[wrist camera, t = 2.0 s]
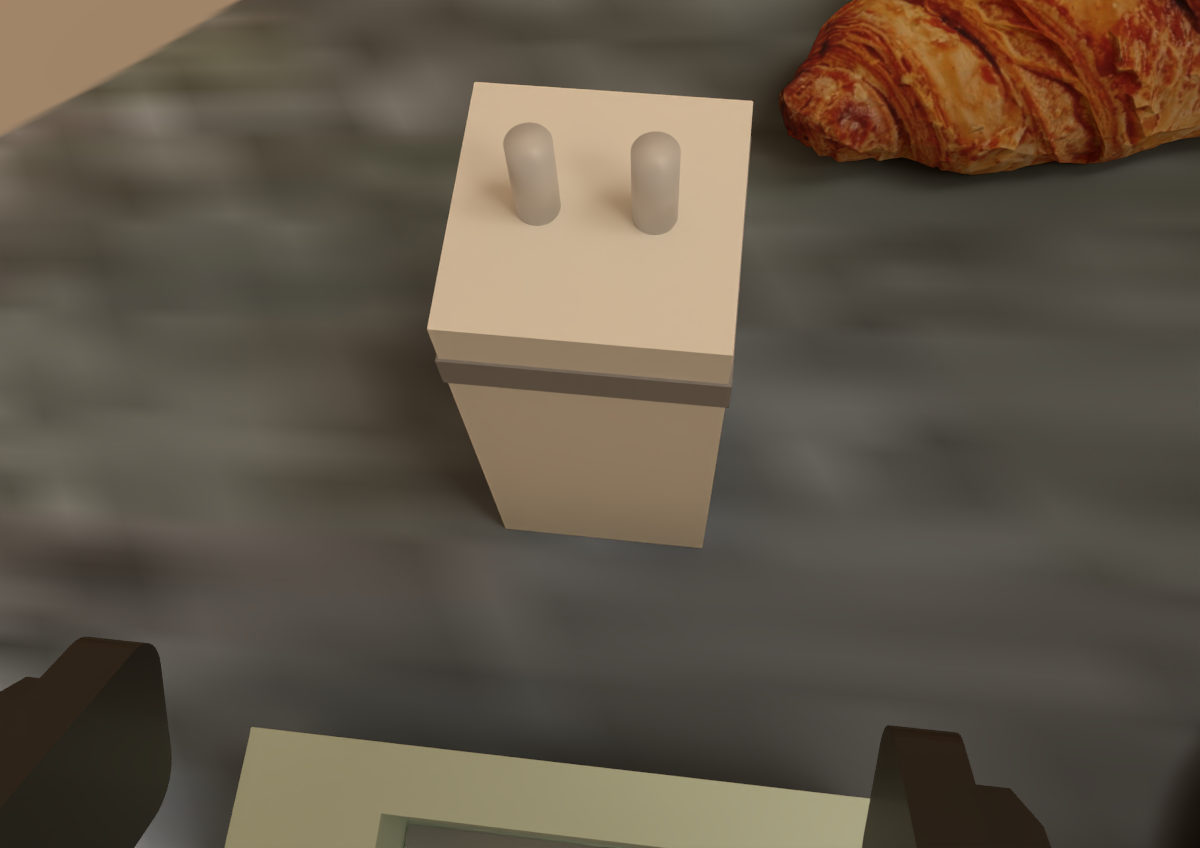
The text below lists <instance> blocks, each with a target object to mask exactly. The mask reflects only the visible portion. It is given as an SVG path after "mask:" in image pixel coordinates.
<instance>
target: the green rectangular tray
mask: <svg viewBox="0 0 1200 848" xmlns="http://www.w3.org/2000/svg"><path fill="white" fill-rule="evenodd" d="M869 803H870V799H868V798H859V797H851V796H842V795H833V794H825V793H816V792H808V791H799V790H790V789H782V788H773V787H765V786H756V785H747V784H739V783H730V782H721V781H713V780H704V779H696V778H687V777H678V776H670V775H661V774H652V773H644V772H635V771H627V770H618V769H609V768H601V767H592V766H583V765H575V764H566V763H558V762H549V761H540V760H532V759H523V758H515V757H506V756H497V755H489V754H480V753H471V752H463V751H454V750H446V749H437V748H428V747H420V746H411V745H402V744H394V743H385V742H377V741H368V740H359V739H351V738H342V737H333V736H325V735H316V734H308V733H299V732H290V731H282V730H273V729H265V728H256V727H251V731H250V736H249V740H248V745H247V749H246V754H245V758H244V762H243V767H242V771H241V776H240V780H239V785H238V789H237V794H236V798H235V803H234V807H233V812H232V816H231V820H230V825H229V829H228V834H227V838H226V843H225V847H224V848H862V843H863V836H864V830H865V825H866V819H867V814H868V808H869Z"/></svg>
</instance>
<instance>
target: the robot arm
mask: <svg viewBox="0 0 1200 848" xmlns="http://www.w3.org/2000/svg"><path fill="white" fill-rule="evenodd" d="M170 773H171V746H170V738H169V730H168V721H167V713H166V705H165V696H164V688H163V680H162V671H161V663H160V657H159V654H158V652H157V650H156V648H155V647H154V646H153V645H151V644H149V643H140V642H131V641H121V640H112V639H103V638H94V637H82V638H80V639H78V640H76V641H75V642H74V643H73V644H72V645H71V646H70V647H69V648H68V649H67V650H66V651H65V652H64V653H63V654H62V655H61V656H60V657H59V658H58V659H57V661H56V662H55V663H54V664H53V665H52V666H51V667H50V668H49V669H48V670H47V671H46V672H45V673H44V674H43V675H42V676H41V677H40V678H33V677H25V678H23V679H22V680H20V681H18V682H16V683H15V684H13V685H11V686H10V687H8V688H6V689H4V690H3V691H1V692H0V848H134V847H135V846H136V844H137V843H138V841H139V840H140V838H141V837H142V835H143V834H144V832H145V831H146V829H147V828H148V826H149V825H150V823H151V822H152V820H153V819H154V817H155V816H156V814H157V812H158V810H159V808H160V806H161V804H162V802H163V799H164V797H165V794H166V791H167V787H168V783H169V779H170ZM862 848H1051V846H1050V844H1049V841H1048V838H1047V835H1046V832H1045V830H1044V827H1043V826H1042V825H1041V823H1040V822H1039V821H1038V820H1037V819H1036V818H1035V817H1034V815H1033V814H1032V813H1031V812H1030V811H1029V810H1028V809H1027V807H1026V806H1025V805H1024V804H1023V803H1022V802H1021V801H1020V799H1019V798H1018V797H1017V796H1016V795H1015V794H1014V793H1013V791H1012V790H1011V789H1010V788H1001V787H992V786H983V785H976V784H975V780H974V777H973V774H972V770H971V767H970V763H969V760H968V757H967V753H966V750H965V746H964V743H963V740H962V738H961V736H960V735H959V734H958V733H955V732H945V731H936V730H927V729H917V728H908V727H899V726H890V725H888V726H886V728H885V729H884V732H883V735H882V738H881V743H880V748H879V754H878V759H877V765H876V770H875V776H874V781H873V787H872V792H871V797H870V803H869V808H868V814H867V819H866V825H865V830H864V836H863V843H862Z"/></svg>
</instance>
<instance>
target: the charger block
mask: <svg viewBox="0 0 1200 848" xmlns="http://www.w3.org/2000/svg"><path fill="white" fill-rule="evenodd" d="M752 111H753V101H746V100H731V99H717V98H702V97H687V96H673V95H658V94H643V93H629V92H614V91H600V90H585V89H570V88H556V87H541V86H526V85H512V84H497V83H483V82H474V87H473V92H472V97H471V103H470V108H469V113H468V118H467V123H466V129H465V134H464V139H463V144H462V149H461V155H460V160H459V165H458V170H457V175H456V180H455V186H454V191H453V196H452V201H451V206H450V212H449V217H448V222H447V227H446V232H445V238H444V243H443V248H442V253H441V258H440V264H439V269H438V274H437V279H436V284H435V290H434V295H433V300H432V305H431V310H430V316H429V321H428V326H427V331H428V333H429V336H430V338H431V341H432V343H433V346H434V348H435V351H436V357H435V363H436V365H437V368H438V370H439V373H440V375H441V378H442V380H443V383H448V384H449V386H450V389H451V392H452V394H453V397H454V399H455V402H456V404H457V407H458V409H459V412H460V414H461V417H462V419H463V422H464V424H465V427H466V430H467V432H468V435H469V437H470V440H471V442H472V445H473V447H474V450H475V452H476V455H477V457H478V460H479V462H480V465H481V468H482V470H483V473H484V475H485V478H486V480H487V483H488V485H489V488H490V490H491V493H492V495H493V498H494V500H495V503H496V505H497V508H498V511H499V513H500V516H501V518H502V521H503V523H504V526H505V528H506V529H514V530H524V531H534V532H544V533H554V534H564V535H574V536H584V537H594V538H604V539H614V540H624V541H634V542H644V543H654V544H664V545H674V546H684V547H694V548H702V547H703V541H704V535H705V529H706V522H707V516H708V510H709V504H710V498H711V491H712V485H713V479H714V473H715V466H716V460H717V454H718V448H719V442H720V435H721V429H722V423H723V417H724V411H725V408H728V407H729V401H730V395H731V389H732V379H733V366H734V353H735V340H736V327H737V315H738V302H739V289H740V276H741V263H742V250H743V238H744V225H745V212H746V199H747V186H748V174H749V161H750V148H751V124H752Z"/></svg>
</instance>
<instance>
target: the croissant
mask: <svg viewBox="0 0 1200 848" xmlns="http://www.w3.org/2000/svg"><path fill="white" fill-rule="evenodd" d="M779 107H780V110H781V114H782V117H783V120H784V124H785V127H786V128H787V131H788V135H789V136H791V137H793V138H795V139H797V140H799V141H800V142H801V143H803V144H804V145H805V146H806V147H813V149H814V150H815V152H816V153H817V154H818V156H831V157H832V158H833V159H835V160H836V161H838V162H845V161H856V160H862V159H867V158H874V159H876V160H878V161H881V160H885V159H892V158H898V157H904V158H908V159H911V160H914V161H917V162H920V163H922V164H925V165H927V166H930V167H938V168H939V169H940V170H943V171H953V172H957V173H961V174H969V175H975V174H984V173H994V172H999V171H1011V170H1015V169H1018V168H1021V167H1024V166H1030V165H1037V164H1042V163H1046V162H1051V161H1057V162H1060V163H1083V164H1089V163H1103V162H1107V161H1112V160H1116V159H1120V158H1124V157H1127V156H1130V155H1132V154H1135V153H1137V152H1140V151H1144V150H1148V149H1152V148H1154V147H1156V146H1158V145H1160V144H1164V143H1168V142H1171V141H1175V140H1179V139H1184V138H1192V137H1199V136H1200V0H853V1H851V2H850V3H848V4H846V5H845V6H843V7H842V8H841V9H840V10H838V11H837V12H836V13H835V14H834V15H833V16H832V17H831V18H830V19H829V20H828V21H827V22H826V23H825V24H824V25H823V26H822V27H821V29H820V31H819V34H818V36H817V38H816V40H815V42H814V44H813V47H812V49H811V51H810V53H809V55H808V57H807V59H806V60H805V61H804V62H803V63H802V64H801V65H800V66H799V68H798V70H797V72H796V74H795V76H794V79H792V80H791V81H790V82H788V84H787V85H786V86H785V87H784V88H783V89H782V91H781V92H780V94H779Z"/></svg>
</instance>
